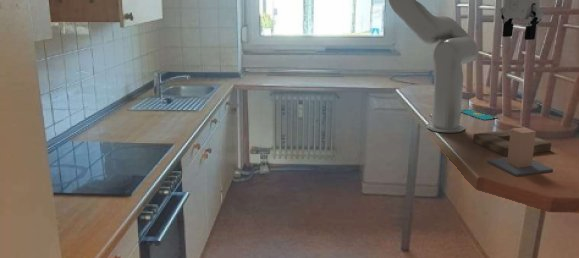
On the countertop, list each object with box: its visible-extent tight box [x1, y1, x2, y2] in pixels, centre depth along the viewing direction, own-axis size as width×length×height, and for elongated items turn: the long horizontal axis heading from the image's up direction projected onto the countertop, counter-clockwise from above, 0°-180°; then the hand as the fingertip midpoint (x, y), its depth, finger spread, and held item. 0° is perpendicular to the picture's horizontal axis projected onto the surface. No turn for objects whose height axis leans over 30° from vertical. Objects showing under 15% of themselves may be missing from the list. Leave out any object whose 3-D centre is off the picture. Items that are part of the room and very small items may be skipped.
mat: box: [486, 156, 554, 177], centre depth 141 cm, size 12×12×1 cm
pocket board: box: [472, 129, 552, 157], centre depth 158 cm, size 16×16×2 cm
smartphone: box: [461, 108, 494, 121], centre depth 195 cm, size 7×1×15 cm
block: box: [507, 126, 537, 168], centre depth 139 cm, size 4×4×10 cm
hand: (518, 38), depth 153 cm, fingers open, 9 cm apart
